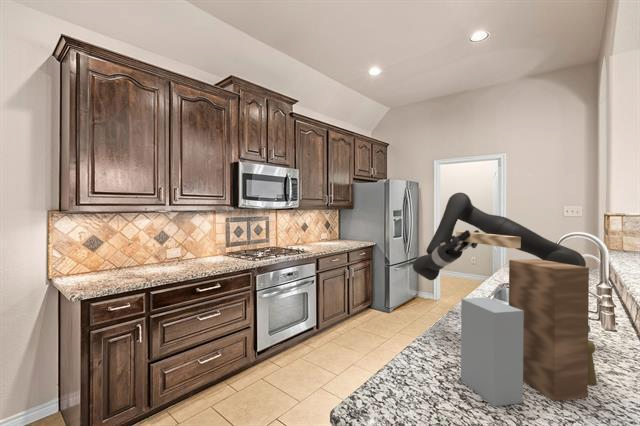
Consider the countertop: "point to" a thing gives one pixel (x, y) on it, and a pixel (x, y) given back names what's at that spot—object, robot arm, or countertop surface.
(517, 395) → the grey rectangular block
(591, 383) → the cork
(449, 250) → the robot arm
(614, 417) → the countertop surface
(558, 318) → the tall walnut stand
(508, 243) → the beech bar
